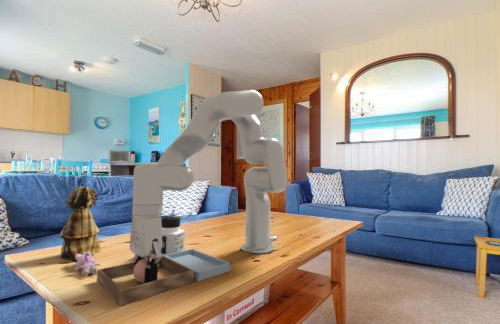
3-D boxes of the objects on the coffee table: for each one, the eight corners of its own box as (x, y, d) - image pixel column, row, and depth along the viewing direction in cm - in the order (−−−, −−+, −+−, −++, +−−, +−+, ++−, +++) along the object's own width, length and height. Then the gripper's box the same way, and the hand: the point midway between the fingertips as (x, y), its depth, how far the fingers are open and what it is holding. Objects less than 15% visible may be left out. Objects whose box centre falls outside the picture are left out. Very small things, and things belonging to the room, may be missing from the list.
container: (174, 256, 90) (175, 218, 91) (154, 255, 92) (155, 217, 92) (184, 250, 98) (185, 215, 98) (165, 248, 99) (166, 214, 100)
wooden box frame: (162, 265, 82) (163, 255, 82) (193, 282, 69) (193, 270, 70) (96, 281, 69) (97, 269, 69) (120, 305, 57) (120, 291, 57)
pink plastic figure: (103, 279, 74) (92, 257, 85) (105, 259, 73) (93, 239, 84) (77, 285, 70) (68, 261, 81) (79, 263, 69) (70, 242, 80)
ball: (151, 275, 73) (152, 253, 74) (161, 282, 69) (162, 259, 69) (129, 281, 69) (130, 258, 69) (138, 288, 65) (139, 264, 65)
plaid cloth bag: (35, 258, 83) (59, 181, 85) (63, 247, 96) (83, 181, 98) (80, 268, 83) (102, 191, 85) (101, 256, 97) (120, 190, 99)
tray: (192, 255, 92) (193, 248, 92) (230, 270, 78) (230, 263, 78) (162, 262, 84) (163, 255, 84) (198, 281, 70) (198, 272, 70)
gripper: (121, 208, 73) (119, 273, 73) (147, 215, 61) (144, 294, 60) (147, 206, 79) (145, 267, 78) (176, 212, 67) (174, 285, 66)
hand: (145, 278), depth 69 cm, fingers closed on ball, 5 cm apart
